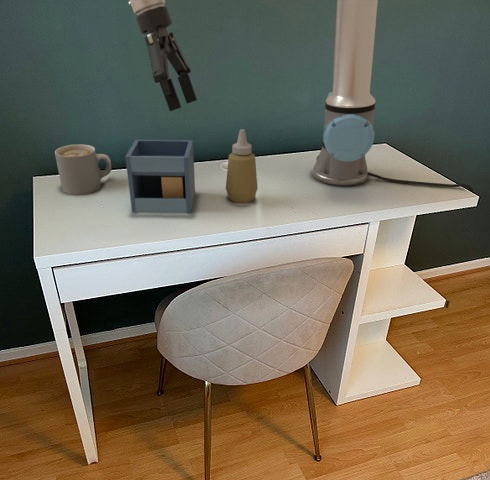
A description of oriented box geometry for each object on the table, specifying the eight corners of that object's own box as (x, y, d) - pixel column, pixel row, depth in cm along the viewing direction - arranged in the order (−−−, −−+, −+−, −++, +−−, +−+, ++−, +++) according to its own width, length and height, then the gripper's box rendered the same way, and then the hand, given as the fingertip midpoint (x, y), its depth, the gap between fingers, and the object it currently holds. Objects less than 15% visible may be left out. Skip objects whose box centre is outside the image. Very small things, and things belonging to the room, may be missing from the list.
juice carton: (185, 198, 126) (184, 169, 122) (184, 206, 122) (182, 177, 118) (166, 198, 126) (163, 169, 122) (163, 206, 122) (161, 177, 118)
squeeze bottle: (254, 209, 124) (255, 136, 114) (222, 206, 125) (221, 133, 115) (259, 196, 130) (262, 126, 120) (229, 193, 132) (229, 124, 122)
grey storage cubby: (195, 195, 130) (192, 140, 122) (191, 216, 120) (188, 157, 112) (141, 195, 130) (135, 139, 122) (132, 216, 120) (125, 156, 111)
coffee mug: (59, 195, 129) (52, 157, 123) (64, 181, 137) (57, 145, 131) (113, 192, 131) (108, 155, 125) (114, 178, 139) (109, 143, 134)
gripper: (154, 18, 126) (185, 103, 134) (114, 15, 104) (153, 118, 112) (181, 7, 123) (210, 94, 132) (145, 2, 102) (183, 107, 110)
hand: (184, 105), depth 122 cm, fingers open, 13 cm apart
